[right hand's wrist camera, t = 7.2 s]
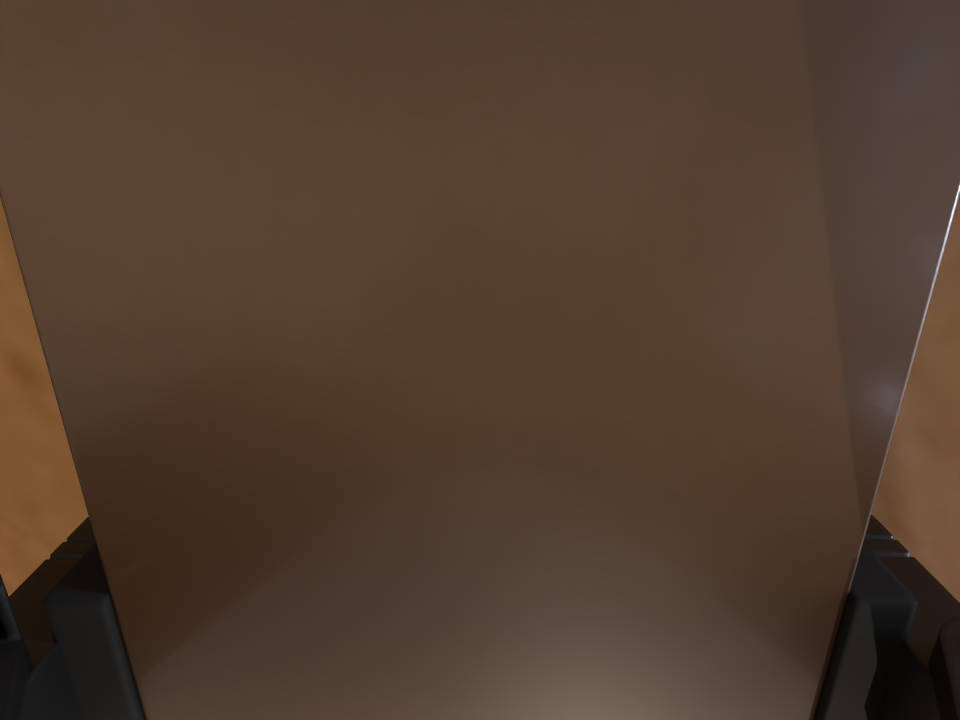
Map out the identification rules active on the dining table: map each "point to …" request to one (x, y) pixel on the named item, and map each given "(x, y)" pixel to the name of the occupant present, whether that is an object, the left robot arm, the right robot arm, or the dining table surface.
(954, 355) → the dining table surface
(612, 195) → the wide beam
